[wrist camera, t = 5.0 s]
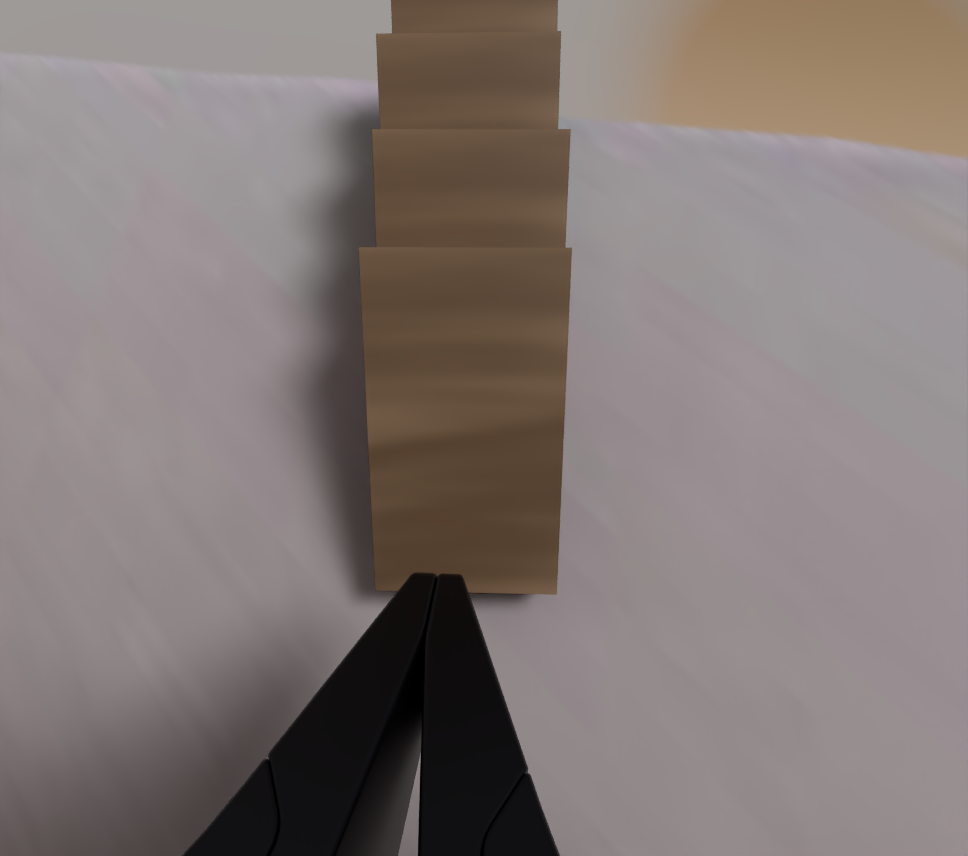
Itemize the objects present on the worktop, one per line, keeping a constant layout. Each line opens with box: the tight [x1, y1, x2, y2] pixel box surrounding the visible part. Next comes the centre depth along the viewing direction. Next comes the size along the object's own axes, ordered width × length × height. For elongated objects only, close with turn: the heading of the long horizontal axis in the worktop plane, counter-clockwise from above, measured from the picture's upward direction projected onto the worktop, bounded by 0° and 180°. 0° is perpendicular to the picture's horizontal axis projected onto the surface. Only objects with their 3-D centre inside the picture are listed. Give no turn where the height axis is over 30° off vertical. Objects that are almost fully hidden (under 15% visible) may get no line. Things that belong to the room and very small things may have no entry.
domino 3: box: [376, 31, 561, 129], centre depth 15 cm, size 2×5×9 cm
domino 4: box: [391, 0, 558, 34], centre depth 16 cm, size 2×5×9 cm
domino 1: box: [359, 247, 572, 594], centre depth 14 cm, size 2×5×9 cm
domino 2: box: [372, 129, 571, 248], centre depth 14 cm, size 2×5×9 cm
